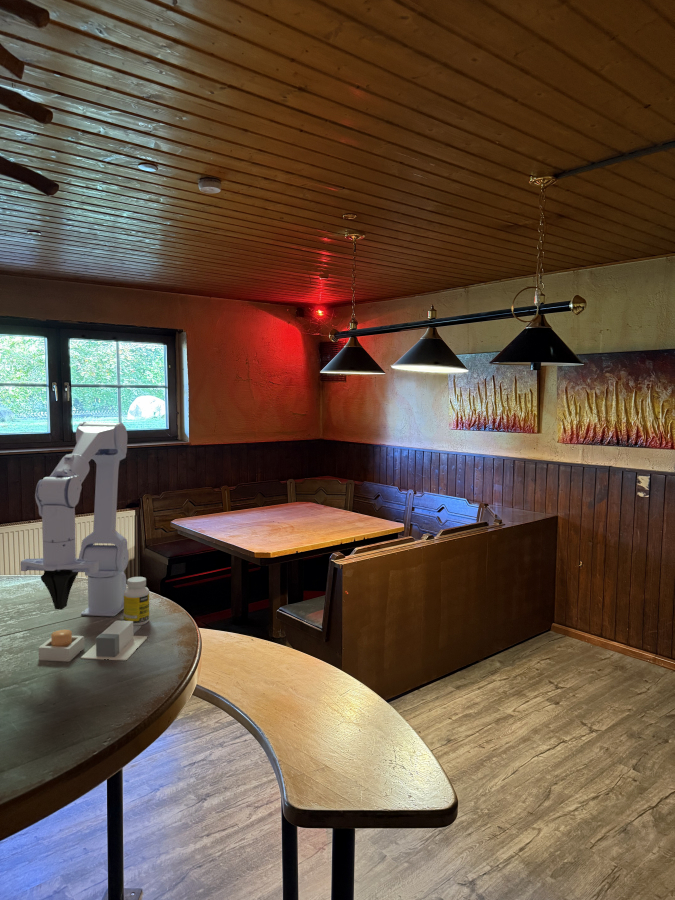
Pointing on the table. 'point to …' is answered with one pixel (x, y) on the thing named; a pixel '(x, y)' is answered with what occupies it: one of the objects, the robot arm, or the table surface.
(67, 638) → the button
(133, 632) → the card
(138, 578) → the supplement bottle
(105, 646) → the grey rectangular prism
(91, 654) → the paper sheet
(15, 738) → the table surface
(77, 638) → the button box
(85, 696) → the table surface
